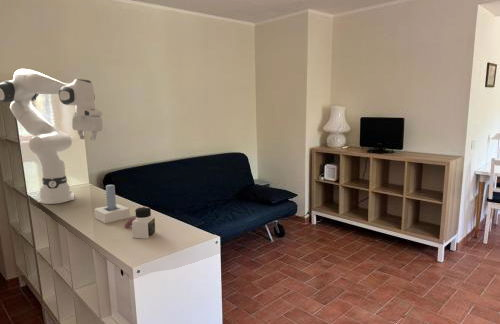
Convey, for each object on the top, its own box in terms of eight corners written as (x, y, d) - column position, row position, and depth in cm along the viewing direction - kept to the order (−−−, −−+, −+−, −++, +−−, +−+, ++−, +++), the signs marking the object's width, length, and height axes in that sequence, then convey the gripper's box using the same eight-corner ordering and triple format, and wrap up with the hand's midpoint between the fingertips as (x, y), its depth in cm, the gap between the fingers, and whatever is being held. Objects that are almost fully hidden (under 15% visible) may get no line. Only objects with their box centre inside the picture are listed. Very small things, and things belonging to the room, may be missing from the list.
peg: (108, 216, 170) (106, 185, 167) (116, 215, 171) (114, 184, 168) (107, 219, 166) (105, 186, 163) (116, 218, 167) (114, 186, 165)
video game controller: (143, 234, 150) (148, 219, 152) (134, 232, 147) (140, 216, 148) (131, 229, 157) (137, 214, 158) (122, 227, 154) (128, 212, 155)
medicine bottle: (149, 239, 141) (147, 210, 139) (132, 238, 142) (130, 210, 140) (155, 232, 148) (154, 205, 146) (139, 232, 149) (138, 205, 147)
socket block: (94, 217, 168) (94, 208, 168) (118, 212, 177) (118, 203, 176) (105, 223, 160) (104, 214, 159) (129, 217, 169) (129, 208, 168)
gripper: (67, 111, 175) (69, 139, 177) (92, 112, 164) (94, 141, 166) (79, 111, 180) (81, 138, 182) (104, 112, 169) (105, 140, 172)
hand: (87, 139), depth 174 cm, fingers open, 8 cm apart
